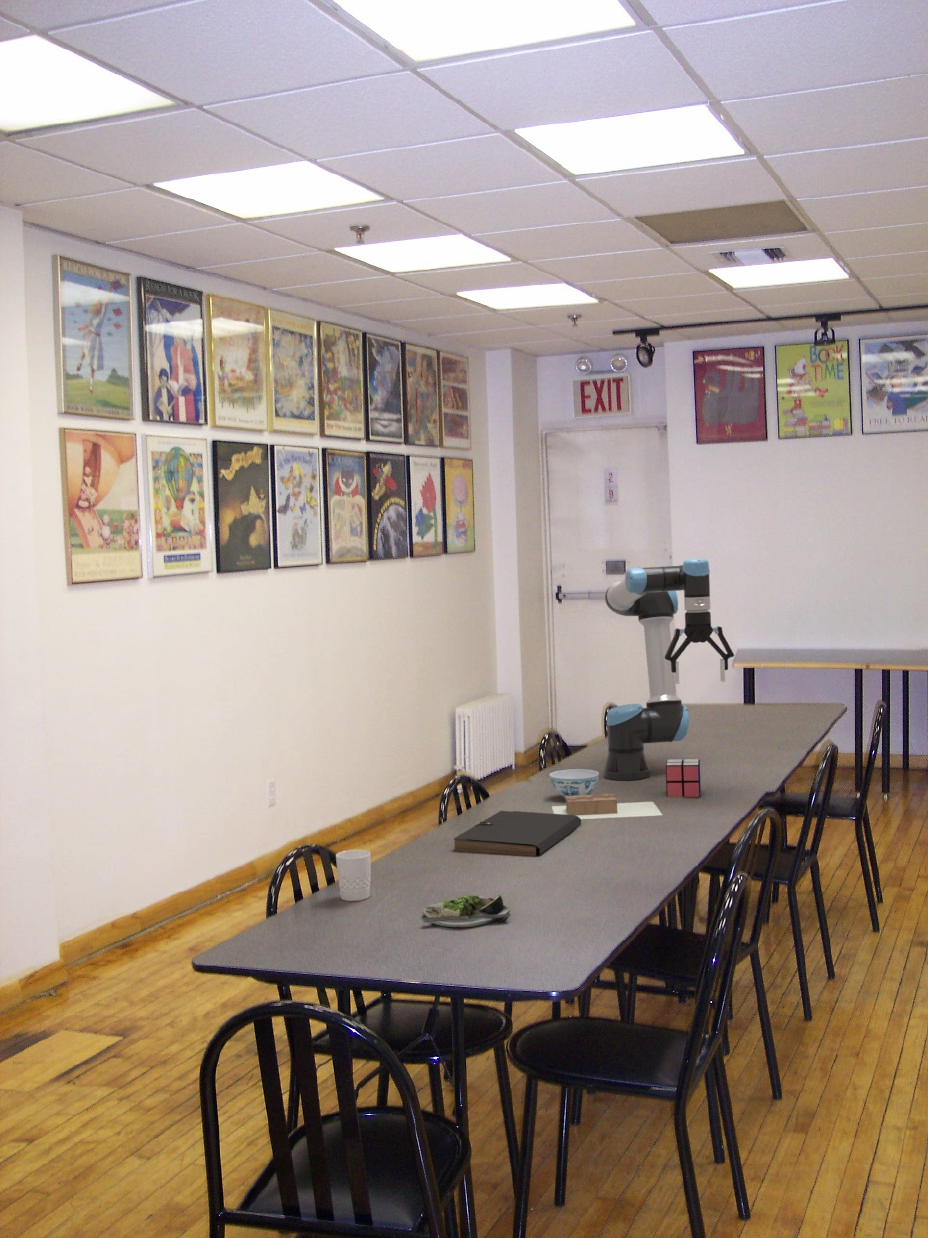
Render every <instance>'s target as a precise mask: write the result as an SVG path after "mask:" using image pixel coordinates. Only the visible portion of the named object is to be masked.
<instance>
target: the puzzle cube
mask: <svg viewBox="0 0 928 1238" xmlns="http://www.w3.org/2000/svg"><path fill="white" fill-rule="evenodd" d="M700 761H701V760H700V759H699V758H695V759H694V758H693V759H692V758H691V759H688V758H687V759H682V758H681V759H667V760H666V762H665V781H666V782H665V787H666V788H665V789H666V791H665V792H666V797H667V798H670V797H673V798H674V797H678V798H681V797H683V798H684V797H700V798H701V794H700V793H701V792H702V790H701V788H702V787H701V786H702V785H701V763H700Z"/></svg>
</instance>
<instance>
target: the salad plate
mask: <svg viewBox="0 0 928 1238" xmlns="http://www.w3.org/2000/svg"><path fill="white" fill-rule="evenodd" d="M510 912H511V911H510V908H509V907H507V906H506V905H504V900H503V898H502V895H496V896H495V897H487V896H480V895H474V894H472V895H463V896H462V897H461V896H459V897H456V898H455V899H450V900H445V901H444V902H438V903H433V904H429V905H427V906H425V908H424V910H423V911H422V914H423V915H424V916H425V917H423V918H422V922H423V923H429V924H434V925H436V926H439V927H448V928H458V929H462V928H465V929H466V928H474V927H478V926H482V925H484V926H485V925H488V924H495V923H497V922H501V921H503V920H505V919H506V918H508V917H510V916H511V914H510ZM440 914H441V915H440ZM439 915H440V916H439Z"/></svg>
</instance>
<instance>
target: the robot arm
mask: <svg viewBox="0 0 928 1238" xmlns="http://www.w3.org/2000/svg"><path fill="white" fill-rule="evenodd" d="M710 571H711V570H710V565H709V561H708V560H707V559H706V558H695V559H685V560H684V561H683V563H682V564H680V565H672V566H671V565H670V566H669V565H668V566H653V567H651V566H650V567H639V566H638V567H633V568H628V569H627V570H626V572H625V575H624V579H623V580H622V581H616V582H614V583H612V584H611V585H610V586H608V588H607V589H606V590H605V591H606V592H605V593H604V601H605V604H606V606H607V607H608V609H610V611H612V612H614V613H615V614H616V615H620V616H623V617H637V618H638V619H637V620H638V623H640V625H642V627H643V632H644V642H645V643H644V644H645V654H646V667H647V675H648V687H649V696H650V697H649V698H648V700H647V701H646V706H645V707H643V705H642V704H641V703H632V704H631V703H629V704H622V705H618V706H615V707H612V708H610V709H609V710H608V712H607V716H606V726H607V747H608V749H607V751H608V754H607V757H606V761H605V765H604V768H603V777H604V778H605V779H607V780H608V779H609V780H616V781H635V780H643V779H647V778H649V777H650V776H651V769H650V768H651V767H650V766H649V763H648V760H647V758H646V754H645V750H644V747H645V746H644V745H645V744H656V743H672V742H679V741H682V740H684V739H685V738H686V736H687V734H688V731H689V727H690V714H689V713H690V712H689V709H688V707H687V705H684V704H682V699H681V698H680V697H679V696H678V695H677V689H676V688H677V687H676V685H680V670H679V668H680V667H679V661H677V660H678V659H679V657H680V656H681V655H682V654H683V652H684V651H685V650H686V649H687V647H688V646H689V645H690V644H691V643H694V644H697V643H706V642H708V644H709V645H710V646H711V647H712V648H713V649H714V650H715V651H716V653H718V654H719V656H721V658H720V659H719V666H720V669H719V670H720V671H719V672H720V682H723V683H725V682H726V672H725V671H728V670H729V659H730V658H733V657H734V656H735V654H734V652H733V650H732V648H731V647H730V644H729V643H728V641H727V639H726V637H725V635H724V633H723V628H722V626H719V625H717V626H716V627H712V619H711V618H712V615H711V611H710V610H711V591H710V590H711V588H710V585H711V584H710ZM677 591H679V592H680V591H683V595H684V597H683V599H684V610H685V613H684V624H685V625H684V628H678V627H676V628H675V629H674V633H673V634H674V635H673V638H672V637H671V626H670V625H671V622H672V621H673V620H674V615H675V614H677V613H678V611H679V599H678V598H679V597H678V593H677ZM713 632H714V634H715V635H717V638H719V640H720V642H721V644H722V646H723V648H724V650H725V651H726V652H724V651H723V649H721V647H720V646H719V645H718V644H717V643H716V641H714V640H713V638H712V637H711V635H712V633H713ZM683 634H684V635H685V636H686V637H685V639H683V640H684V641H683V642H682V643H681V644H680V646H679V647H678V648H677V649H676V650H675V648H676V646H677V643H678V642H679V639H680V637H681V636H683ZM674 650H675V652H674ZM673 652H674V654H673Z"/></svg>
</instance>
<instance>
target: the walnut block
mask: <svg viewBox="0 0 928 1238" xmlns="http://www.w3.org/2000/svg"><path fill="white" fill-rule="evenodd" d="M617 803H618V799H617V797H616V796H615V793H602V794H601V793H600V794H598V793H597V794H588V795H576V796H566V799H565V806H566V810H567V813H568V815H592V814H613V813H617Z"/></svg>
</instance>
